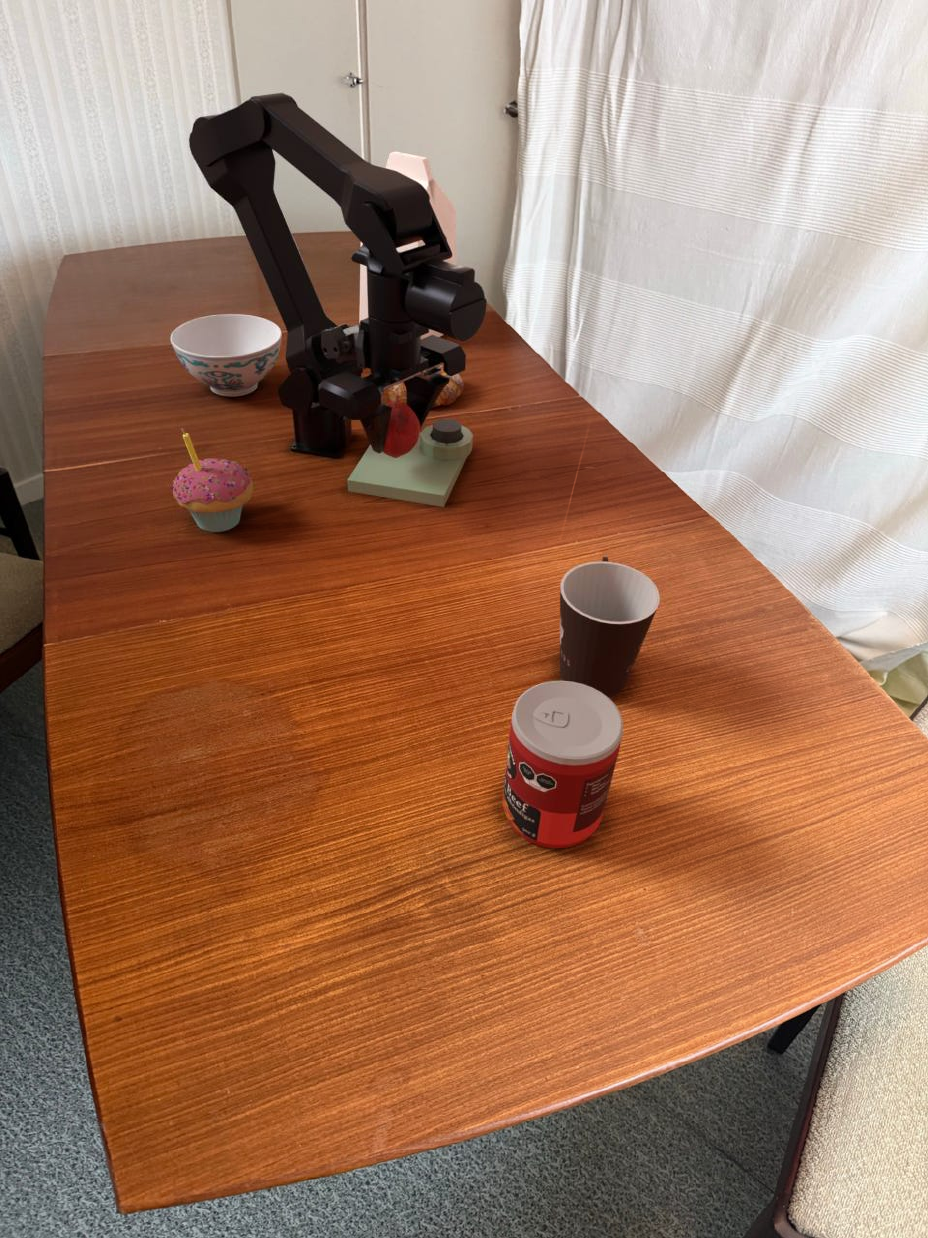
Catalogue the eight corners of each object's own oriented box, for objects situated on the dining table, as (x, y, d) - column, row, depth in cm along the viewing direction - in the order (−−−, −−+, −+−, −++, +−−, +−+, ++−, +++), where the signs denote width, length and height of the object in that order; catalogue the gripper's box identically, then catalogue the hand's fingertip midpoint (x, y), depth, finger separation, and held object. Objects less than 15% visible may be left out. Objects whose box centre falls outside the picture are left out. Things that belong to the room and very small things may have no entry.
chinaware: (158, 396, 117) (147, 343, 112) (220, 357, 128) (212, 306, 123) (249, 419, 113) (242, 365, 108) (305, 376, 124) (301, 325, 119)
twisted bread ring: (415, 420, 115) (416, 395, 112) (369, 392, 121) (368, 367, 118) (480, 397, 121) (481, 373, 119) (432, 371, 127) (432, 347, 125)
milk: (457, 326, 141) (464, 155, 124) (418, 348, 133) (420, 169, 116) (399, 310, 145) (398, 142, 128) (359, 330, 138) (352, 154, 121)
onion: (425, 466, 99) (426, 404, 94) (378, 472, 98) (376, 409, 93) (412, 443, 103) (413, 382, 98) (367, 448, 102) (365, 387, 97)
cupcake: (190, 549, 90) (169, 451, 83) (172, 509, 96) (151, 414, 88) (266, 530, 94) (253, 434, 86) (245, 493, 99) (231, 400, 91)
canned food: (496, 774, 69) (506, 680, 62) (590, 770, 70) (611, 677, 62) (507, 854, 63) (520, 761, 56) (610, 849, 64) (635, 757, 57)
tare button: (429, 442, 104) (429, 429, 103) (436, 429, 107) (436, 416, 106) (457, 446, 104) (457, 433, 103) (463, 433, 106) (464, 420, 105)
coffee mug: (616, 720, 74) (636, 637, 67) (531, 682, 77) (542, 599, 71) (664, 647, 82) (686, 566, 75) (585, 615, 85) (600, 534, 78)
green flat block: (347, 491, 101) (346, 466, 98) (383, 436, 111) (382, 412, 109) (449, 508, 99) (450, 483, 96) (475, 451, 109) (477, 426, 107)
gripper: (399, 273, 98) (400, 395, 109) (277, 314, 87) (291, 446, 97) (471, 298, 93) (465, 424, 104) (352, 345, 82) (358, 481, 92)
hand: (395, 442), depth 99 cm, fingers closed on onion, 6 cm apart
